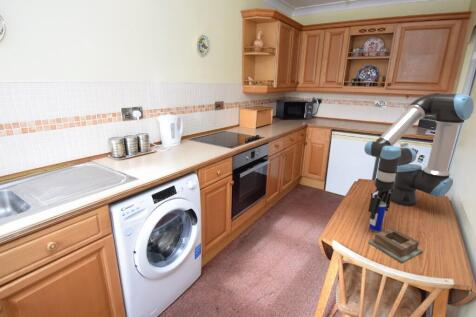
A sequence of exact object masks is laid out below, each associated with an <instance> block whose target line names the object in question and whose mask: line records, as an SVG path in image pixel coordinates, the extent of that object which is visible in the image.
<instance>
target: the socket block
mask: <svg viewBox="0 0 476 317" xmlns="http://www.w3.org/2000/svg"><path fill="white" fill-rule="evenodd" d="M368 244H370V245H371V246H372V247H374V248H375V249H378V250H379V251H381V252H382V253H384V254H386V255H387V256H389V257H390V258H392V259H394V260H395V261H397V262H398V263H400V264H404V263H405V262H407V261H409V260H411V259H413V258H415V257H417V256H419V255H420V254H422V253H423V252H424V251H423V250H422V249H421V248H419V244H420V241H419V240H418V239H415V238H413V237H411V236H409V235H407V234H406V233H403V232H402V231H399V230H398V229H396V228H394V227H390V228H387V229H385V230H381V231H379V232H376V233H375V235H374V238H372V239H370V240H368Z"/></svg>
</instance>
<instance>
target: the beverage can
mask: <svg viewBox="0 0 476 317" xmlns="http://www.w3.org/2000/svg"><path fill="white" fill-rule="evenodd" d="M385 209H386V203H385V202H383V201H381V203H380V206H379V208H378V211H377V214H378V215H377V220H376V225H375V226H373V225H372V224H370V223H369V227H368V228H369V230H370V231H372V232H375V233H379V232H382V226H383V223H384V220H383V218H384V219H385V216H384V213H385V214H386V211H385Z"/></svg>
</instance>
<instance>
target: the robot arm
mask: <svg viewBox="0 0 476 317" xmlns="http://www.w3.org/2000/svg"><path fill="white" fill-rule="evenodd" d="M474 106H475V103H474V99H473V97H472V96H470V95H469V94H463V93H462V94H461V93H443V92H442V93H440V92H432V93H428V94H425V95H423V96H420V97H419V98H417V99H415V100H413V101H412V102H411V103H410V104H408V105H407V107H406V108H405V111H404V112H403V113H402V114H401V115H400V117H399V118H398V119H396V121H395V122H393V123H392V124H391V125H390V126H389V127H388V128H387V129H386V130H385V131H384V132H383V134H381V135H380V136H379V137H378V139H376V140H375V141H374V140H369V141H367V142H366V143H365V145H364V153H365V154H366V155H368V156H371V157H374V158H378V159H379V161H378V166H377V173H376V178H375V181H374V186H375V187H376V190H375V192H371V193H370V201H369V206H368V212H369V213H371V214H370V217H369V225H370V224H372V225H373V226H375V225H376V220H377V215H378V214H377V211H378V208H379V206H380V203H381V201H383V202H385V203H386V209H385V213H384V218H383V221H385V220H384V219H385V214H386V212H388V211H389V208H390V206H391V202H392V203H394V204H396V205H400V206H405V207H407V206H408V207H414V206H416V205H417V202H418V198H417V191H420V192H422V193H425V194H428V195H430V196H434V197H437V198H440V197H441V198H442V197H443V196H445V195H446V194H447V193H448V192H449V191H450V190H451V188H452V186H453V185H454V179H453V178H451V177H450V175H451V173H450V172H449V170H448V168H449V164H450V162H451V161H450V160H451V157H452V153H453V149H454V145H455V142H456V139H457V134H458V131H459V127H460V126H461V125H463V124H464V123H465V121H466V120H469V119H470V118H471V117H472V114H473V112H474ZM427 116H431V117H434V122H435V123H436V128H435V132H434V135H433V136H434V137H433V141H432V144H431V148H430V149H431V150H430V152H429V153H430V154H429V158H428V161H427V162H428V163H427V165H426V167H424V168H422V166H421V165H419V164H415V163H414V162H415V161H416V160H417V152H416V151H415V149H413V148H411V147H399V146H395V144H396V143H397V142H398V141H399V140H400V139H401V138H402V137H403V136H404V135H405V134H406V133H408V132H409V130H411V128H412V127H413V126H414V125H415V124H416V123H417V122H418V121H420V120H423V119H424V118H425V117H427ZM413 163H414V164H413Z"/></svg>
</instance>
